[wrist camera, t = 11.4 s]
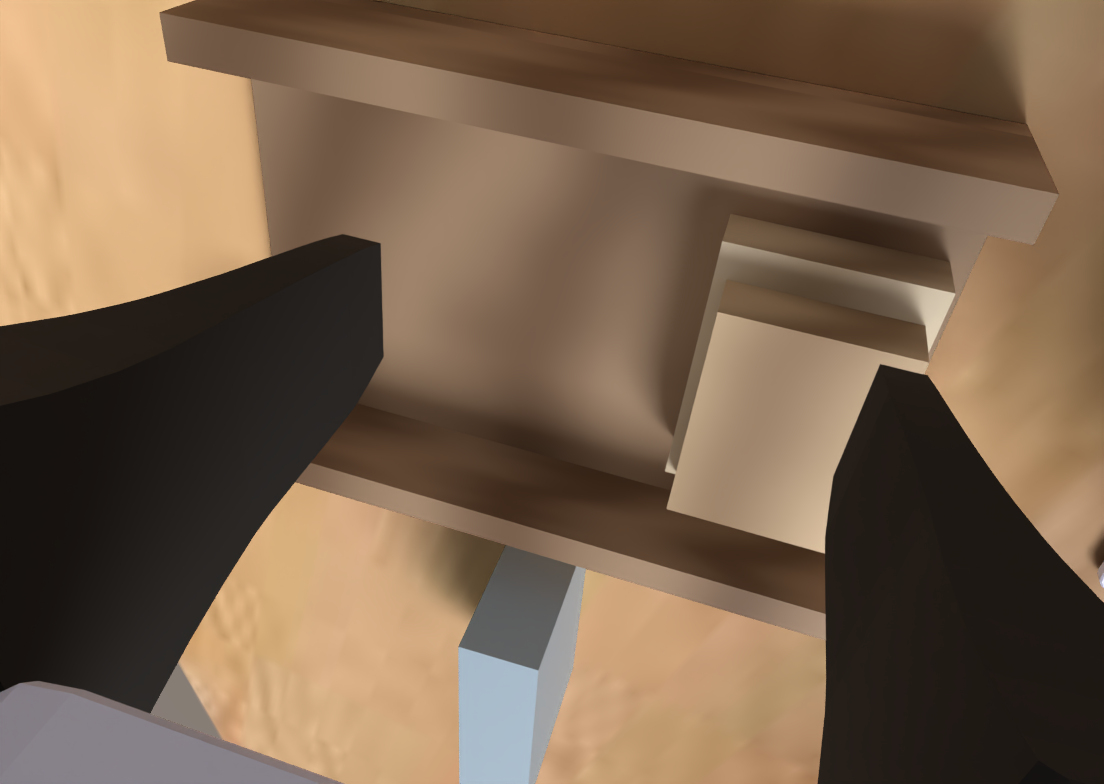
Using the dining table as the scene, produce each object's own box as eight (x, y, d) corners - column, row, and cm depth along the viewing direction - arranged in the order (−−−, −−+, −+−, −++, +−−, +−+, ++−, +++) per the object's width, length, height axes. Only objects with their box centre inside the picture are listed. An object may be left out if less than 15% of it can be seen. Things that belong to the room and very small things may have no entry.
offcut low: (950, 261, 19) (956, 293, 18) (851, 485, 23) (851, 522, 22) (730, 213, 20) (722, 241, 19) (674, 437, 24) (664, 471, 23)
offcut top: (925, 325, 19) (929, 362, 17) (840, 516, 22) (839, 557, 21) (726, 279, 19) (717, 311, 18) (676, 471, 23) (666, 508, 22)
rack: (1027, 124, 18) (1059, 194, 15) (837, 543, 26) (833, 643, 23) (258, -22, 21) (159, 12, 18) (301, 394, 29) (237, 464, 26)
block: (591, 523, 28) (538, 670, 24) (573, 666, 33) (525, 811, 29) (523, 506, 29) (458, 646, 24) (515, 649, 34) (459, 789, 29)
